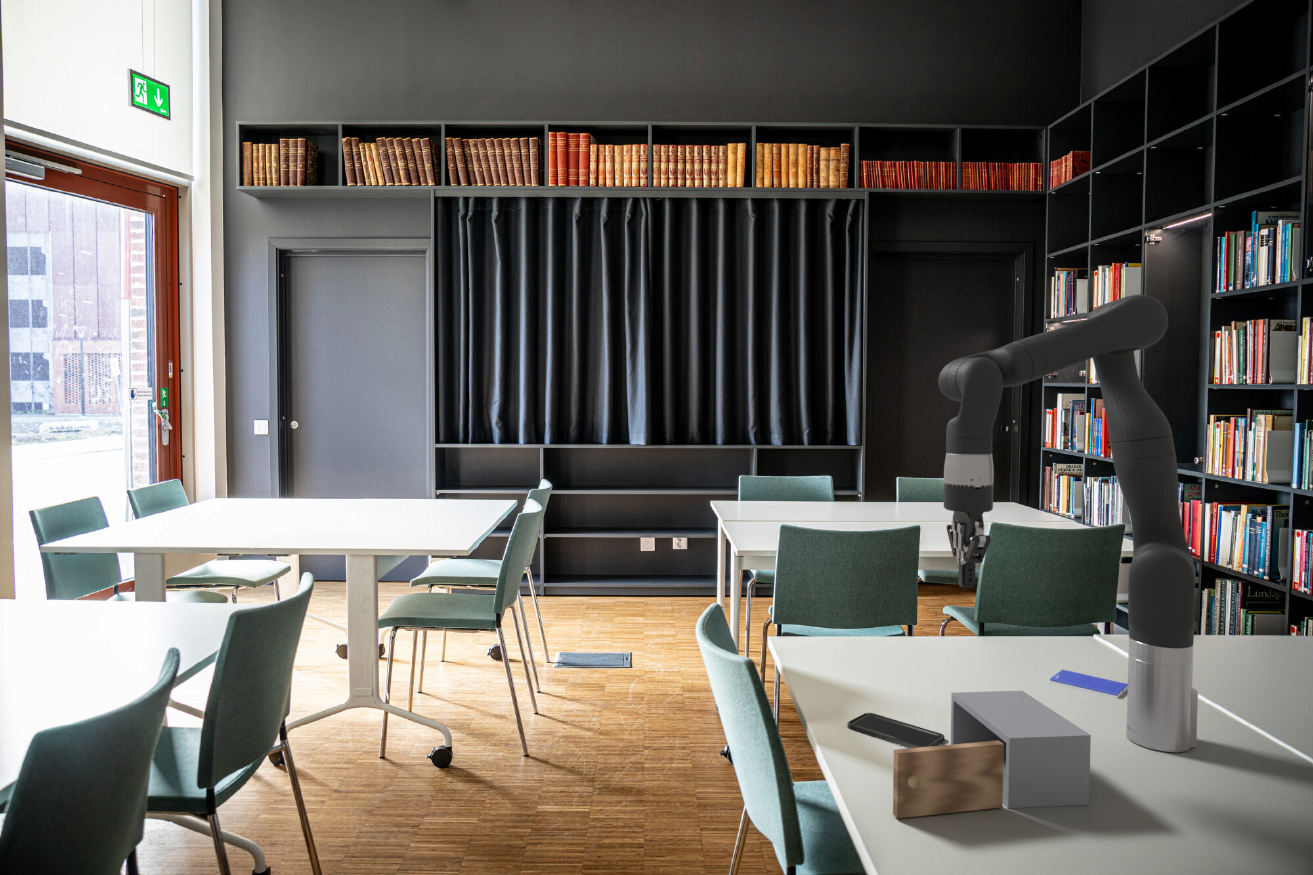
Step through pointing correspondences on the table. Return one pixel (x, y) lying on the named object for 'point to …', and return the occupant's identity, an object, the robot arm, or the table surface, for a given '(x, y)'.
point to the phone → (895, 731)
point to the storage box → (1027, 746)
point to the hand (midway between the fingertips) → (966, 586)
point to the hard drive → (1089, 683)
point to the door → (947, 778)
